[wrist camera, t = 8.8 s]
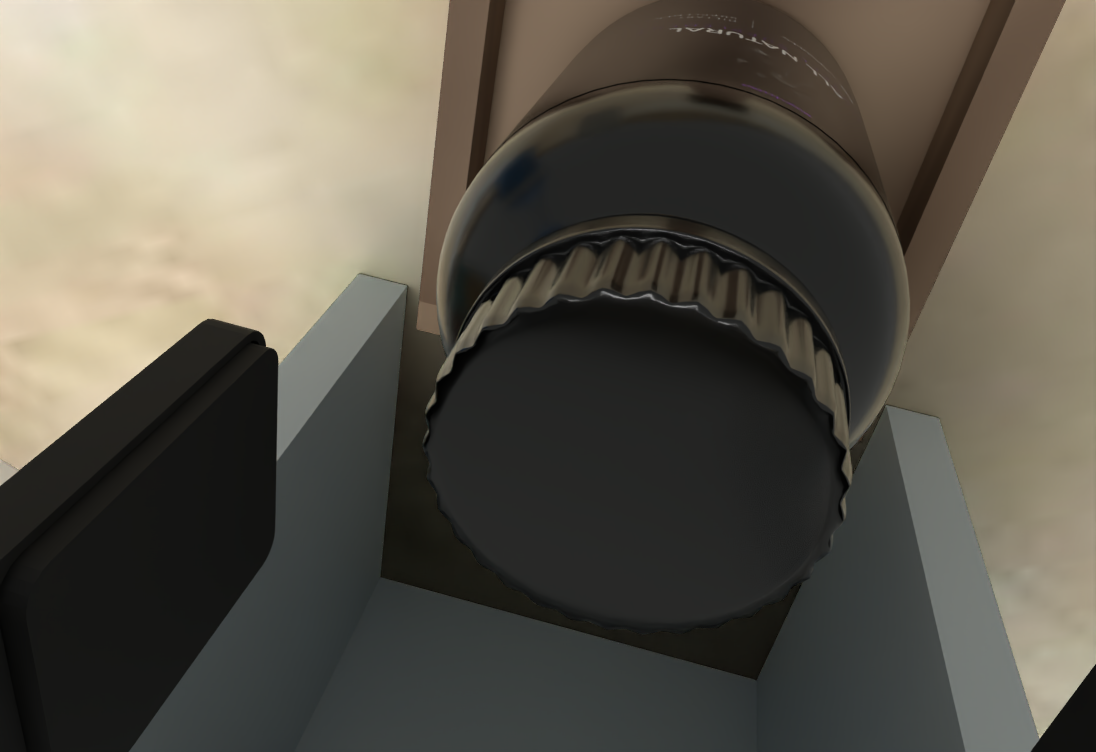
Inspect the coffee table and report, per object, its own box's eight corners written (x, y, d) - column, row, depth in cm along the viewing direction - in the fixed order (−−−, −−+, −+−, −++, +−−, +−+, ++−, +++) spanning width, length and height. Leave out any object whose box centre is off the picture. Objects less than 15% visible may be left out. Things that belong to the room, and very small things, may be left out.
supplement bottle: (836, -59, 17) (953, 109, 7) (875, 261, 20) (995, 691, 10) (505, 35, 19) (237, 266, 9) (587, 311, 22) (453, 708, 12)
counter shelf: (939, 418, 23) (1194, 1235, 10) (786, 713, 30) (813, 1428, 17) (358, 273, 24) (-126, 829, 11) (340, 590, 31) (30, 1168, 18)
